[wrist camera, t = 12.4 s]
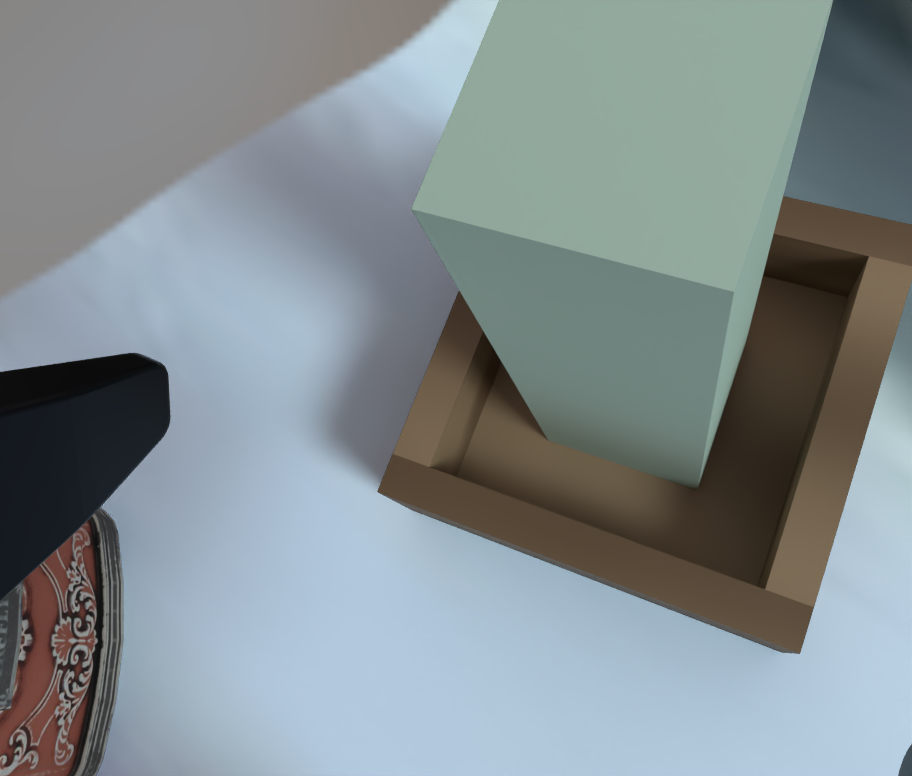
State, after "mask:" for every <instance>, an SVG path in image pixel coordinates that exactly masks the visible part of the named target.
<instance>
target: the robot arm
mask: <svg viewBox="0 0 912 776" xmlns="http://www.w3.org/2000/svg"><path fill="white" fill-rule="evenodd" d="M169 423H170V399H169V379H168V372H167V370H166V368H165V366H164V365H163V364H162V363H160V362H158V361H156V360H154V359H151V358H149V357H147V356H144V355H142V354H138V353H127V354H120V355H114V356H107V357H100V358H93V359H86V360H79V361H72V362H65V363H59V364H52V365H45V366H38V367H31V368H24V369H17V370H10V371H4V372H0V601H1V600H2V599H3V598H5V597H6V596H7V595H8V594H9V593H10V592H11V591H12V590H13V589H14V588H16V587H17V586H18V585H19V584H20V583H21V582H22V581H23V580H24V579H25V578H26V577H28V576H29V575H30V574H31V573H32V572H33V571H34V570H35V569H36V568H37V567H39V566H40V565H41V564H42V563H43V562H44V561H45V560H46V559H47V558H48V557H49V556H51V555H52V554H53V553H54V552H55V551H56V550H57V549H58V548H59V547H60V546H62V545H63V544H64V543H65V542H66V541H67V540H68V539H69V538H70V537H71V536H72V535H73V534H74V533H76V532H77V531H78V530H79V529H80V528H81V527H82V526H83V525H84V524H85V523H86V522H87V521H88V520H89V519H90V518H91V517H92V516H93V514H94V513H95V512H96V511H97V510H98V509H99V508H100V507H101V506H102V505H103V504H104V503H105V501H106V500H107V499H108V498H109V497H110V496H111V495H112V494H113V493H114V491H115V490H116V489H117V488H118V487H119V486H120V485H121V484H122V483H123V481H124V480H125V479H126V478H127V477H128V476H129V475H130V474H131V473H132V471H133V470H134V469H135V468H136V467H137V466H138V465H139V464H140V463H141V461H142V460H143V459H144V458H145V457H146V456H147V455H148V454H149V453H150V451H151V450H152V449H153V448H154V447H155V446H156V445H157V444H158V443H159V441H160V440H161V439H162V438H163V437H164V435H165V433H166V432H167V429H168V427H169ZM898 776H912V744H911V746H910V747H909V749H908V750H907V752H906V754H905V756H904V759H903V761H902V764H901V767H900V770H899V775H898Z"/></svg>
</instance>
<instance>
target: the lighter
mask: <svg viewBox="0 0 912 776" xmlns="http://www.w3.org/2000/svg"><path fill="white" fill-rule="evenodd" d="M122 648H123V575H122V566H121V556H120V547H119V538H118V531H117V528H116V525H115V522H114V520H113V519H112V518H111V517H110V516H109V515H108V513H107V512H105V511H103V510H101V509H98V510H97V511H96V512H95V513H94V514H93V516H92V517H91V518H90V519H89V520H88V521H87V522H86V523H85V524H84V525H83V526H82V527H81V528H80V529H79V530H78V531H77V532H76V533H74V534H73V535H72V536H71V537H70V538H69V539H68V540H67V541H66V542H65V543H64V544H63V545H62V546H60V547H59V548H58V549H57V550H56V551H55V552H54V553H53V554H52V555H51V556H49V557H48V558H47V559H46V560H45V561H44V562H43V563H42V564H41V565H40V566H39V567H37V568H36V569H35V570H34V571H33V572H32V573H31V574H30V575H29V576H28V577H26V578H25V579H24V580H23V581H22V582H21V583H20V584H19V585H18V586H17V587H16V588H14V589H13V590H12V591H11V592H10V593H9V594H8V595H7V596H6V597H5V598H3V599H2V600H1V601H0V776H95V775H96V773H97V772H98V770H99V768H100V765H101V763H102V760H103V757H104V753H105V748H106V744H107V739H108V735H109V730H110V726H111V721H112V717H113V712H114V708H115V703H116V698H117V690H118V681H119V673H120V665H121V656H122Z"/></svg>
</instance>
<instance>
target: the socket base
mask: <svg viewBox="0 0 912 776" xmlns="http://www.w3.org/2000/svg"><path fill="white" fill-rule="evenodd" d="M911 281H912V225H911V224H906V223H902V222H897V221H893V220H888V219H884V218H879V217H874V216H870V215H865V214H861V213H856V212H852V211H847V210H843V209H838V208H834V207H829V206H825V205H820V204H816V203H811V202H807V201H802V200H798V199H793V198H789V197H784V196H783V198H782V202H781V206H780V210H779V214H778V218H777V222H776V226H775V230H774V234H773V238H772V242H771V245H770V249H769V253H768V257H767V261H766V265H765V269H764V273H763V277H762V281H761V285H760V289H759V293H758V297H757V300H756V304H755V308H754V312H753V316H752V320H751V324H750V328H749V332H748V336H747V340H746V344H745V347H744V350H743V353H742V356H741V359H740V362H739V365H738V368H737V372H736V375H735V378H734V381H733V384H732V387H731V390H730V393H729V396H728V399H727V402H726V405H725V408H724V411H723V414H722V417H721V420H720V423H719V426H718V429H717V432H716V435H715V438H714V441H713V444H712V447H711V451H710V454H709V457H708V460H707V463H706V466H705V469H704V472H703V475H702V478H701V481H700V484H699V487H698V490H696V489H692V488H689V487H686V486H683V485H680V484H677V483H674V482H671V481H668V480H665V479H662V478H659V477H656V476H653V475H650V474H647V473H644V472H641V471H638V470H635V469H632V468H629V467H626V466H623V465H620V464H617V463H614V462H611V461H608V460H605V459H602V458H599V457H596V456H593V455H590V454H587V453H584V452H581V451H578V450H575V449H572V448H569V447H566V446H563V445H560V444H557V443H554V442H551V441H548V439H547V438H546V436H545V434H544V433H543V431H542V429H541V428H540V426H539V424H538V422H537V421H536V419H535V417H534V416H533V414H532V412H531V411H530V409H529V407H528V406H527V404H526V402H525V400H524V399H523V397H522V395H521V394H520V392H519V390H518V389H517V387H516V385H515V384H514V382H513V380H512V379H511V377H510V375H509V373H508V372H507V370H506V368H505V367H504V365H503V363H502V362H501V360H500V358H499V357H498V355H497V353H496V351H495V350H494V348H493V346H492V345H491V343H490V341H489V340H488V338H487V336H486V335H485V333H484V331H483V330H482V328H481V326H480V324H479V323H478V321H477V319H476V318H475V316H474V314H473V313H472V311H471V309H470V308H469V306H468V304H467V302H466V301H465V299H464V297H463V296H462V294H461V292H460V291H459V292H458V294H457V297H456V299H455V302H454V304H453V307H452V309H451V312H450V314H449V317H448V319H447V321H446V324H445V326H444V329H443V331H442V334H441V336H440V339H439V341H438V344H437V346H436V349H435V351H434V353H433V356H432V358H431V361H430V363H429V366H428V368H427V371H426V373H425V376H424V378H423V380H422V383H421V385H420V388H419V390H418V393H417V395H416V398H415V400H414V403H413V405H412V408H411V410H410V412H409V415H408V417H407V420H406V422H405V425H404V427H403V430H402V432H401V435H400V437H399V440H398V442H397V444H396V447H395V449H394V452H393V454H392V457H391V459H390V462H389V464H388V467H387V469H386V471H385V474H384V476H383V479H382V481H381V484H380V486H379V489H378V491H377V492H378V493H380V494H382V495H384V496H386V497H388V498H390V499H392V500H394V501H396V502H397V503H399V504H401V505H403V506H405V507H407V508H409V509H411V510H413V511H416V512H418V513H421V514H424V515H426V516H429V517H431V518H434V519H437V520H439V521H442V522H444V523H447V524H450V525H452V526H455V527H457V528H460V529H463V530H465V531H468V532H470V533H473V534H476V535H478V536H481V537H483V538H486V539H489V540H491V541H494V542H496V543H499V544H502V545H504V546H507V547H509V548H512V549H515V550H517V551H520V552H522V553H525V554H528V555H530V556H533V557H535V558H538V559H540V560H543V561H546V562H548V563H551V564H553V565H556V566H559V567H561V568H564V569H566V570H569V571H572V572H574V573H577V574H579V575H582V576H585V577H587V578H590V579H592V580H595V581H598V582H600V583H603V584H605V585H608V586H611V587H613V588H616V589H618V590H621V591H624V592H626V593H629V594H631V595H634V596H637V597H639V598H642V599H644V600H647V601H650V602H652V603H655V604H657V605H660V606H663V607H665V608H668V609H670V610H673V611H676V612H678V613H681V614H683V615H686V616H689V617H691V618H694V619H696V620H699V621H702V622H704V623H707V624H709V625H712V626H715V627H717V628H720V629H722V630H725V631H728V632H730V633H733V634H735V635H738V636H741V637H743V638H746V639H748V640H751V641H754V642H756V643H759V644H761V645H764V646H767V647H769V648H772V649H774V650H777V651H780V652H782V653H796V654H800V652H801V649H802V645H803V642H804V639H805V635H806V632H807V629H808V625H809V622H810V619H811V615H812V612H813V609H814V605H815V602H816V598H817V595H818V592H819V588H820V585H821V582H822V578H823V575H824V572H825V568H826V565H827V562H828V558H829V555H830V552H831V548H832V545H833V542H834V538H835V535H836V532H837V528H838V525H839V522H840V518H841V515H842V512H843V508H844V505H845V502H846V498H847V495H848V492H849V488H850V485H851V482H852V478H853V475H854V472H855V468H856V465H857V462H858V458H859V455H860V451H861V448H862V445H863V441H864V438H865V435H866V431H867V428H868V425H869V421H870V418H871V415H872V411H873V408H874V405H875V401H876V398H877V395H878V391H879V388H880V385H881V381H882V378H883V375H884V371H885V368H886V365H887V361H888V358H889V355H890V351H891V348H892V345H893V341H894V338H895V335H896V331H897V328H898V325H899V321H900V318H901V315H902V311H903V308H904V304H905V301H906V298H907V294H908V291H909V288H910V284H911Z"/></svg>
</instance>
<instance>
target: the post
mask: <svg viewBox="0 0 912 776" xmlns="http://www.w3.org/2000/svg"><path fill="white" fill-rule="evenodd" d="M832 2H833V0H499V2H498V4H497V7H496V9H495V11H494V14H493V16H492V18H491V21H490V23H489V26H488V28H487V30H486V33H485V35H484V37H483V40H482V42H481V45H480V47H479V49H478V52H477V54H476V56H475V59H474V61H473V64H472V66H471V68H470V71H469V73H468V75H467V78H466V80H465V83H464V85H463V87H462V90H461V92H460V94H459V97H458V99H457V101H456V104H455V106H454V109H453V111H452V113H451V116H450V118H449V120H448V123H447V125H446V128H445V130H444V132H443V135H442V137H441V139H440V142H439V144H438V147H437V149H436V151H435V154H434V156H433V158H432V161H431V163H430V165H429V168H428V170H427V173H426V175H425V177H424V180H423V182H422V184H421V187H420V189H419V192H418V194H417V196H416V199H415V201H414V203H413V206H412V208H411V210H412V211H413V213H414V215H415V216H416V218H417V220H418V221H419V223H420V225H421V226H422V228H423V230H424V232H425V233H426V235H427V237H428V238H429V240H430V242H431V243H432V245H433V247H434V248H435V250H436V252H437V253H438V255H439V257H440V259H441V260H442V262H443V264H444V265H445V267H446V269H447V270H448V272H449V274H450V275H451V277H452V279H453V281H454V282H455V284H456V286H457V287H458V289H459V291H460V292H461V294H462V296H463V297H464V299H465V301H466V302H467V304H468V306H469V308H470V309H471V311H472V313H473V314H474V316H475V318H476V319H477V321H478V323H479V324H480V326H481V328H482V330H483V331H484V333H485V335H486V336H487V338H488V340H489V341H490V343H491V345H492V346H493V348H494V350H495V351H496V353H497V355H498V357H499V358H500V360H501V362H502V363H503V365H504V367H505V368H506V370H507V372H508V373H509V375H510V377H511V379H512V380H513V382H514V384H515V385H516V387H517V389H518V390H519V392H520V394H521V395H522V397H523V399H524V400H525V402H526V404H527V406H528V407H529V409H530V411H531V412H532V414H533V416H534V417H535V419H536V421H537V422H538V424H539V426H540V428H541V429H542V431H543V433H544V434H545V436H546V438H547V439H548V441H551V442H554V443H557V444H560V445H563V446H566V447H569V448H572V449H575V450H578V451H581V452H584V453H587V454H590V455H593V456H596V457H599V458H602V459H605V460H608V461H611V462H614V463H617V464H620V465H623V466H626V467H629V468H632V469H635V470H638V471H641V472H644V473H647V474H650V475H653V476H656V477H659V478H662V479H665V480H668V481H671V482H674V483H677V484H680V485H683V486H686V487H689V488H692V489H696V490H698V487H699V484H700V481H701V478H702V475H703V472H704V469H705V466H706V463H707V460H708V457H709V454H710V451H711V447H712V444H713V441H714V438H715V435H716V432H717V429H718V426H719V423H720V420H721V417H722V414H723V411H724V408H725V405H726V402H727V399H728V396H729V393H730V390H731V387H732V384H733V381H734V378H735V375H736V372H737V368H738V365H739V362H740V359H741V356H742V353H743V350H744V347H745V344H746V340H747V336H748V332H749V328H750V324H751V320H752V316H753V312H754V308H755V304H756V300H757V297H758V293H759V289H760V285H761V281H762V277H763V273H764V269H765V265H766V261H767V257H768V253H769V249H770V245H771V242H772V238H773V234H774V230H775V226H776V222H777V218H778V214H779V210H780V206H781V202H782V198H783V194H784V190H785V187H786V183H787V179H788V175H789V171H790V167H791V163H792V159H793V155H794V151H795V147H796V143H797V139H798V135H799V132H800V128H801V124H802V120H803V116H804V112H805V108H806V104H807V100H808V96H809V92H810V88H811V84H812V80H813V77H814V73H815V69H816V65H817V61H818V57H819V53H820V49H821V45H822V41H823V37H824V33H825V29H826V25H827V22H828V18H829V14H830V10H831V6H832Z"/></svg>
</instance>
